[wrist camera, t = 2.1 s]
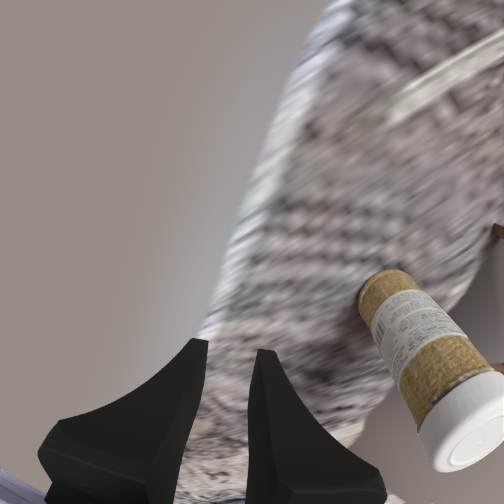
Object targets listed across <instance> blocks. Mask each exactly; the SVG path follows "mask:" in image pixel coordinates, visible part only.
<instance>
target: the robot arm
mask: <svg viewBox="0 0 504 504" xmlns="http://www.w3.org/2000/svg"><path fill="white" fill-rule="evenodd" d="M208 342H209V341H207V340H201V339H196V338H192V339H190V340H189V341H188V343H187V344H186V345H185V346H184V347H183V349H182V350H181V351H180V352H179V353H178V354H177V355H176V356H175V357H174V358H173V359H172V360H171V361H170V362H169V363H168V364H167V365H166V366H165V367H164V368H162V369H161V370H160V371H159V372H158V373H157V374H155V375H154V376H153V377H152V378H151V379H149V380H148V381H147V382H145V383H144V384H142V385H141V386H140V387H138V388H136V389H135V390H134V391H132V392H130V393H129V394H127V395H125V396H123V397H121V398H120V399H118V400H116V401H114V402H112V403H110V404H108V405H105V406H103V407H101V408H98V409H96V410H93V411H91V412H88V413H85V414H81V415H78V416H74V417H71V418H67V419H62V420H59V421H58V422H57V424H56V425H55V426H54V427H53V428H52V430H51V431H50V432H49V434H48V435H47V437H46V438H45V440H44V441H43V443H42V445H41V447H40V448H39V450H38V458H39V460H40V463H41V465H42V466H43V468H44V470H45V471H46V473H47V474H48V476H49V478H50V479H51V481H52V484H51V486H50V489H49V490H48V492H47V494H45V493H43V492H41V491H39V490H37V489H35V488H34V487H32V486H30V485H28V484H26V483H24V482H23V481H21V480H19V479H18V478H16V477H14V476H12V475H11V474H9V473H8V472H6V471H4V470H3V469H1V468H0V504H173V501H174V496H175V491H176V485H177V480H178V475H179V471H180V466H181V461H182V456H183V452H184V449H185V445H186V443H187V440H188V437H189V434H190V431H191V428H192V425H193V422H194V419H195V416H196V413H197V410H198V407H199V404H200V400H201V395H202V391H203V386H204V381H205V371H206V361H207V352H208ZM248 445H249V467H248V478H247V489H246V500H245V504H384V503H385V501H386V500H387V492H386V488H385V485H384V482H383V479H382V477H381V475H380V472H379V470H378V469H377V468H375V467H374V466H372V465H370V464H369V463H367V462H366V461H364V460H362V459H361V458H359V457H357V456H356V455H355V454H353V453H352V452H351V451H349V450H348V449H347V448H345V447H344V446H343V445H342V444H340V443H339V442H338V441H337V440H336V439H335V438H334V437H333V436H332V435H330V434H329V433H328V432H327V431H326V430H325V429H324V428H323V427H322V426H321V425H320V424H319V422H318V421H317V420H316V419H315V418H314V417H313V415H312V414H311V413H310V412H309V410H308V409H307V408H306V406H305V405H304V404H303V402H302V401H301V399H300V398H299V396H298V395H297V393H296V391H295V390H294V388H293V386H292V385H291V383H290V381H289V379H288V378H287V376H286V374H285V372H284V370H283V368H282V366H281V363H280V361H279V359H278V356H277V354H276V352H275V351H272V350H264V349H258V352H257V356H256V361H255V366H254V370H253V375H252V380H251V384H250V390H249V400H248Z"/></svg>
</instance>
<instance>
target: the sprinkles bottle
mask: <svg viewBox="0 0 504 504" xmlns="http://www.w3.org/2000/svg"><path fill="white" fill-rule="evenodd" d="M358 310H359V313H360V316H361V318H362V319H363V320H364V322H365V323H366V324H367V326H368V327H369V329H370V331H371V333H372V337H373V339H374V341H375V343H376V345H377V347H378V349H379V351H380V353H381V355H382V357H383V359H384V361H385V363H386V365H387V367H388V369H389V372H390V374H391V376H392V378H393V380H394V382H395V384H396V386H397V387H398V390H399V392H400V393H401V395H402V396H403V397H404V399H405V401H406V403H407V405H408V408H409V409H410V411H411V413H412V415H413V417H414V420H415V422H416V424H417V432H418V434H419V441H420V444H421V446H422V448H423V450H424V452H425V455H426V457H427V459H428V461H429V463H430V465H431V467H432V468H433V469H434V470H436V471H438V472H453V471H457V470H460V469H463V468H465V467H468V466H469V465H472V464H473V463H475V462H477V461H479V460H480V459H482V458H483V457H485V456H486V455H488V454H489V453H490V452H491V451H492V450H494V449H495V448H496V447H497V446H498V445H499V444H500V443H501V442H502V441H503V440H504V375H503V374H502V373H500V372H497V371H495V370H494V368H492V367H491V366H490V365H489V364H488V362H487V361H486V360H485V359H484V358H483V356H482V355H481V354H480V353H478V351H477V349H476V348H475V347H474V346H473V344H472V343H471V342H470V341H469V340H468V337H467V336H466V335H465V334H464V333H463V332H462V330H461V329H460V328H459V327H458V326H457V325H456V324H455V323H454V322H453V321H452V319H451V318H450V317H449V316H448V315H447V314H446V313H445V312H444V311H443V310H442V309H441V308H440V307H439V306H438V305H437V304H436V303H435V302H434V301H433V300H432V299H431V298H430V297H429V296H428V295H427V294H426V293H424V292H423V291H422V290H421V289H420V288H419V287H418V286H417V285H416V284H415V282H414V281H413V279H412V278H411V277H410V276H409V275H408V274H406V273H405V272H402V271H400V270H385V271H382V272H379V273H377V274H375V275H374V276H373V277H371V278H370V279H369V280H368V282H367V283H366V284H365V285H364V287H363V288H362V290H361V292H360V295H359V299H358Z"/></svg>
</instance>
